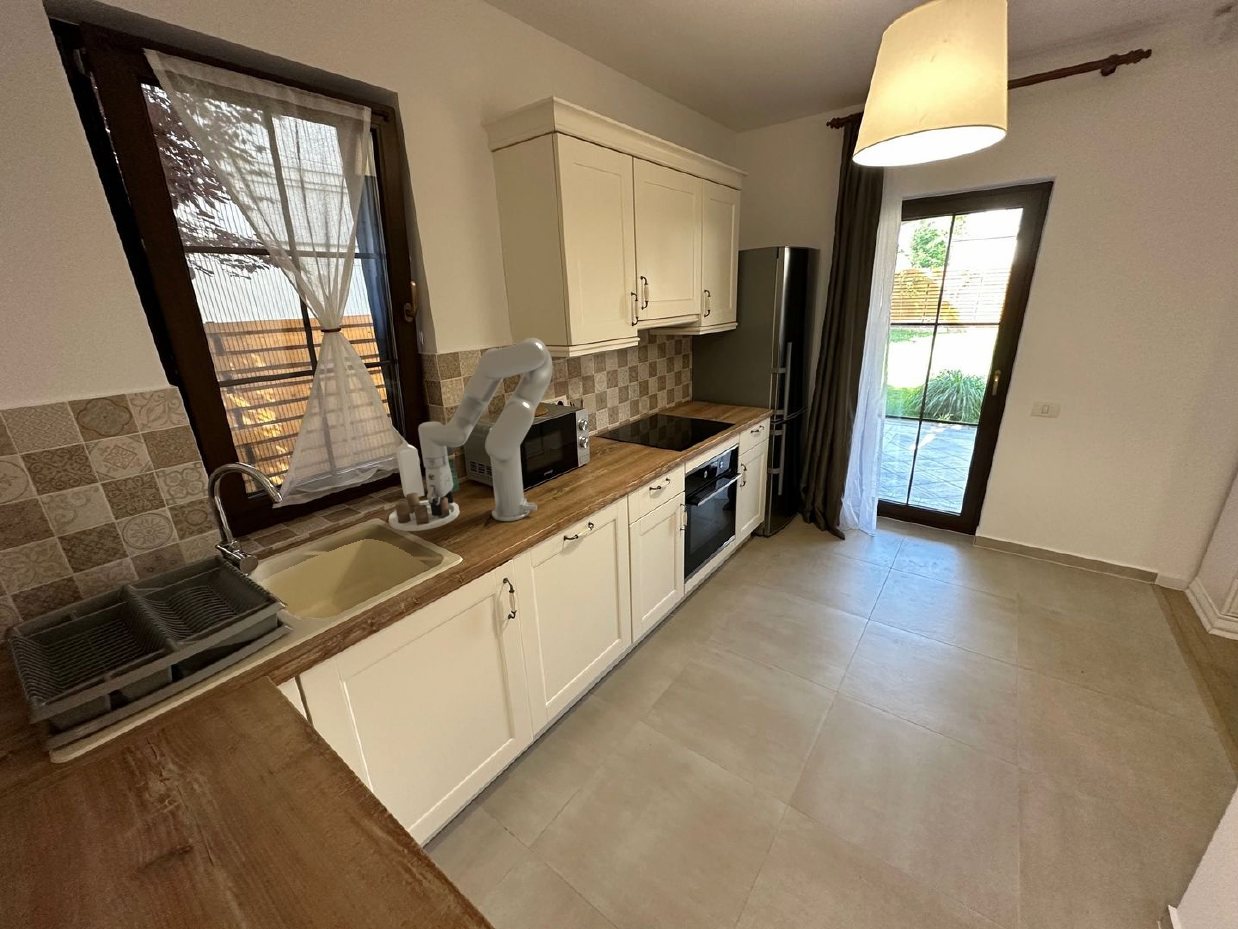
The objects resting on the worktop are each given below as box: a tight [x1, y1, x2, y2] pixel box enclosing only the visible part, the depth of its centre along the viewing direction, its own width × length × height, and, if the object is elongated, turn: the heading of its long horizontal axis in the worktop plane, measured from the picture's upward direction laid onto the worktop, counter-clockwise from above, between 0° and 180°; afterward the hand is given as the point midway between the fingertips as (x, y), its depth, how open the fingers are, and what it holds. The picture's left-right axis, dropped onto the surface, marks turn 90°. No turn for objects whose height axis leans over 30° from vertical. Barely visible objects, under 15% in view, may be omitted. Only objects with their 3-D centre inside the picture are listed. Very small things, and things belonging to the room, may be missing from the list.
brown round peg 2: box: [414, 505, 429, 525], centre depth 155 cm, size 4×4×6 cm
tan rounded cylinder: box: [436, 497, 450, 518], centre depth 161 cm, size 4×4×6 cm
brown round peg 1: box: [394, 501, 411, 523], centre depth 158 cm, size 4×4×6 cm
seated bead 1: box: [405, 493, 420, 513], centre depth 165 cm, size 4×4×6 cm
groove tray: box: [388, 499, 460, 532], centre depth 162 cm, size 22×22×2 cm
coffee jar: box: [446, 446, 460, 493], centre depth 182 cm, size 10×8×19 cm
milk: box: [395, 438, 425, 498], centre depth 176 cm, size 6×6×22 cm
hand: (443, 509), depth 161 cm, fingers open, 9 cm apart
